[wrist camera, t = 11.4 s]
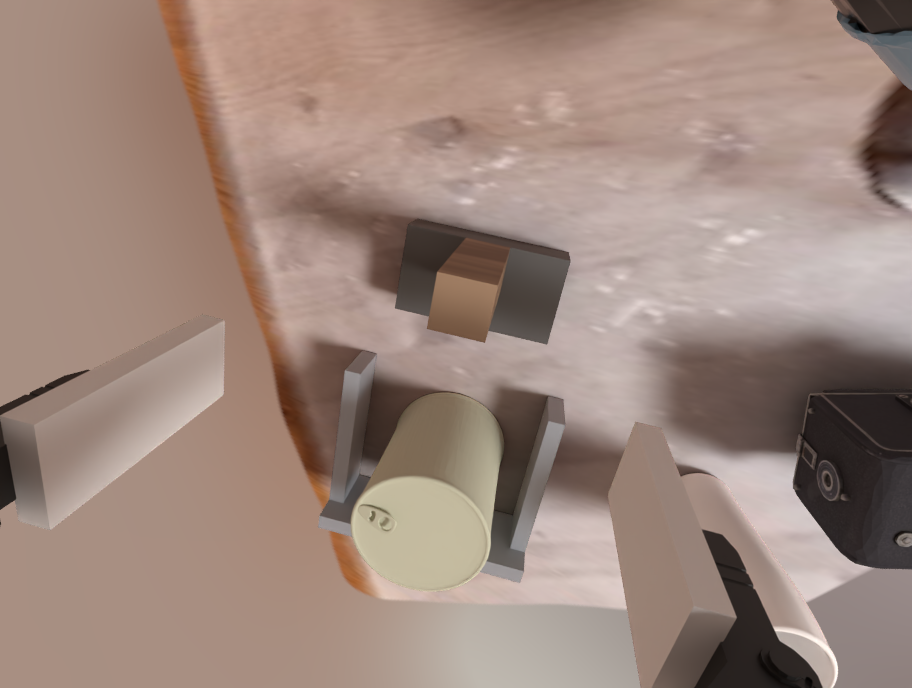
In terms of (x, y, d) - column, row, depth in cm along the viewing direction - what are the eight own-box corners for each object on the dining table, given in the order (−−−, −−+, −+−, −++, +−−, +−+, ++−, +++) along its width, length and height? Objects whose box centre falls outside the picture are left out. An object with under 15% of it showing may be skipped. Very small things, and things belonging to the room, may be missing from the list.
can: (420, 372, 41) (375, 455, 30) (523, 422, 42) (516, 522, 30) (380, 458, 45) (327, 560, 34) (475, 503, 45) (454, 619, 34)
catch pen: (362, 350, 41) (334, 381, 36) (563, 399, 40) (566, 440, 35) (345, 482, 46) (318, 527, 41) (523, 529, 45) (520, 582, 40)
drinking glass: (687, 545, 43) (755, 733, 29) (632, 493, 42) (676, 663, 28) (758, 501, 41) (869, 684, 27) (702, 446, 40) (787, 606, 26)
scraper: (418, 218, 37) (358, 253, 25) (568, 252, 36) (580, 304, 24) (405, 296, 39) (345, 362, 27) (546, 330, 39) (547, 413, 27)
